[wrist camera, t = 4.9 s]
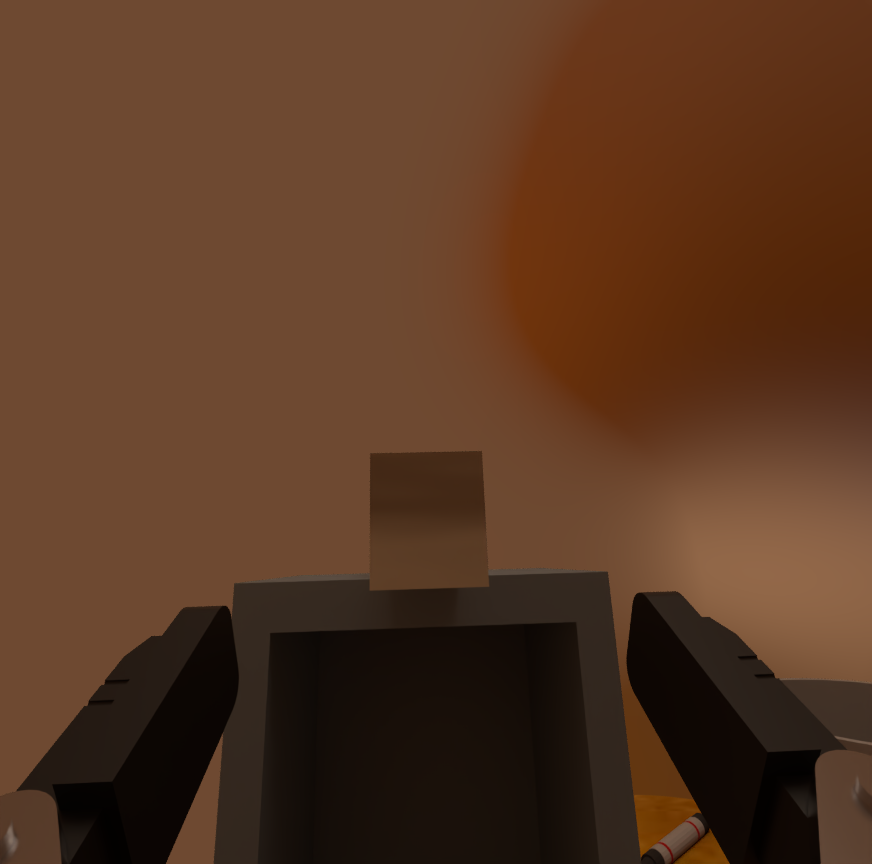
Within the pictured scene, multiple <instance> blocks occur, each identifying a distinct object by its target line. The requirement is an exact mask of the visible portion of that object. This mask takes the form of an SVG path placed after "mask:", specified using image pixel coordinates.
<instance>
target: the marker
mask: <svg viewBox="0 0 872 864" xmlns="http://www.w3.org/2000/svg"><path fill="white" fill-rule="evenodd" d="M709 829H710V827H709V826H708V824H707V822H706V820H705V818H704V817H703V815H702V814H701V813H696V814H694V815H693V816H692V817H690V818H688V819H687V820H686V821H685V822H683V823H682V824H681V825H680V826H678V827H677V828H676V829H674V830H673V831H672V832H671V833H669V834H668V835H667V836H666V837H664V838H663V839H662V840H660V841H659V842H658V843H657V844H655V845H654V846H653V847H652V848H650V849H649V851H647V852H646V853H645V854H644V855H643V856H642V857H641V864H672V863H673V862H674V861H675V860H676V859H677V858H678V857H680V856H681V855H682V854H683V853H684V852H685V851H687V850H688V849H689V848H690V847H691V846H692V845H693V844H695V843H696V842H697V841H698V840H699V839H700V838H701V837H703V836H704V834H705V833H706V832H708V831H709Z"/></svg>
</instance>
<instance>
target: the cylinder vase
mask: <svg viewBox="0 0 872 864" xmlns="http://www.w3.org/2000/svg"><path fill="white" fill-rule="evenodd" d="M780 680H781V681H782V682H783V683H784V684H785V685H786V686H787V687H788V688H789V690H790V691H791V692H792V693H793V694H794V695H795V696H796V697H797V698H798V699H799V700H800V701H801V702H802V703H803V704H804V705H805V706H806V707H807V708H808V709H809V710H810V711H811V712H812V713H813V715H814V716H815V717H816V718H817V719H818V720H819V721H820V722H821V723H822V724H823V725H824V726H825V727H826V728H827V729H828V730H829V731H830V732H831V733H832V734H833V735H834V736H835V737H836V738H837V740H838V741H839V742H840V743H841V744H842V745H843V746H844V747H845V748H846V749H847V750H849V751H855V752H859V753H864V754H867V755H870V756H872V682H862V681H849V680H835V679H811V678H787V679H786V678H785V679H780Z"/></svg>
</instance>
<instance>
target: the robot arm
mask: <svg viewBox="0 0 872 864" xmlns="http://www.w3.org/2000/svg"><path fill="white" fill-rule="evenodd" d="M627 671H628V676H629V680H630V684H631V686H632V689H633V691H634V693H635V695H636V697H637V699H638V700H639V702H640V704H641V706H642V708H643V709H644V711H645V713H646V715H647V717H648V718H649V720H650V722H651V723H652V725H653V727H654V729H655V731H656V733H657V734H658V736H659V738H660V740H661V742H662V743H663V745H664V747H665V749H666V751H667V752H668V754H669V756H670V758H671V759H672V761H673V763H674V765H675V766H676V768H677V770H678V772H679V773H680V776H681V777H682V779H683V781H684V782H685V784H686V786H687V788H688V790H689V792H690V793H691V795H692V797H693V799H694V801H695V802H696V804H697V806H698V808H699V809H700V811H701V813H702V815H703V817H704V818H705V820H706V822H707V824H708V826H709V827H710V829H711V831H712V833H713V834H714V836H715V838H716V840H717V842H718V843H719V845H720V847H721V849H722V851H723V852H724V854H725V856H726V858H727V859H728V861H729V863H730V864H872V756H870V755H867V754H864V753H859V752H855V751H849V750H847V749H846V748H845V747H844V746H843V745H842V744H841V743H840V742H839V741H838V740H837V738H836V737H835V736H834V735H833V734H832V733H831V732H830V731H829V730H828V729H827V728H826V727H825V726H824V725H823V724H822V723H821V722H820V721H819V720H818V719H817V718H816V717H815V716H814V715H813V713H812V712H811V711H810V710H809V709H808V708H807V707H806V706H805V705H804V704H803V703H802V702H801V701H800V700H799V699H798V698H797V697H796V696H795V695H794V694H793V693H792V692H791V691H790V690H789V688H788V687H787V686H786V685H785V684H784V683H783V682H782V681H781V680H780V679H779V678H778V679H776V678H775V676H774V673H773V672H772V671H771V670H770V669H769V668H768V667H767V666H766V665H765V664H764V663H763V662H762V660H758V659H757V655H756V654H755V653H754V652H753V651H752V650H751V649H750V648H749V647H748V646H747V645H746V644H745V643H744V642H743V641H742V640H741V639H740V638H739V636H737V635H736V634H735V633H733V632H732V631H730V630H729V629H727V628H726V627H724V626H722V625H721V624H719V623H718V622H716V621H715V620H713V619H711V618H710V617H701V616H700V615H699V614H698V612H697V611H696V610H695V609H694V608H693V607H692V606H691V605H690V604H689V602H688V601H687V600H686V599H685V598H684V597H683V596H682V595H681V594H680V593H678V592H676V591H674V592H673V591H672V592H644V593H637V594H636V595H635V597H634V600H633V605H632V614H631V623H630V632H629V641H628V649H627ZM238 686H239V669H238V662H237V655H236V648H235V641H234V633H233V626H232V619H231V614H230V611H229V609H228V607H227V606H208V607H207V606H206V607H185V608H183V609H182V610H181V611H180V612H179V614H178V615H177V616H176V618H175V619H174V621H173V622H172V623H171V624H170V626H169V627H168V629H167V630H166V631H165V633H164V634H163V635H162V636H151V637H150V638H149V639H147V640H146V641H145V642H143V643H142V644H141V645H139V646H138V647H136V648H135V649H134V650H132V651H131V652H130V653H128V654H127V655H126V656H124V658H123V659H122V660H121V661H120V662H119V664H118V665H117V666H116V667H115V669H114V670H113V671H112V672H111V674H110V675H109V676H108V677H107V679H106V680H105V684H104V685H101V686H100V687H99V689H98V690H97V691H96V692H95V693H94V695H93V696H92V697H91V699H90V700H89V703H88V706H84V707H83V709H82V710H81V711H80V712H79V713H78V715H77V716H76V717H75V719H74V720H73V721H72V722H71V723H70V725H69V726H68V727H67V729H66V730H65V731H64V732H63V733H62V735H61V736H60V737H59V738H58V740H57V741H56V742H55V743H54V745H53V746H52V747H51V748H50V750H49V751H48V752H47V753H46V755H45V756H44V757H43V758H42V760H41V761H40V762H39V763H38V764H37V766H36V767H35V768H34V769H33V771H32V772H31V773H30V774H29V776H28V777H27V778H26V780H25V781H24V782H23V783H22V785H21V786H20V787H19V788H18V789H17V791H16V792H12V793H8V794H5V795H3V796H0V864H166V862H167V860H168V857H169V855H170V852H171V850H172V848H173V846H174V844H175V841H176V839H177V837H178V834H179V832H180V830H181V828H182V825H183V823H184V820H185V818H186V816H187V814H188V811H189V809H190V807H191V805H192V802H193V800H194V798H195V795H196V793H197V791H198V789H199V786H200V784H201V782H202V779H203V777H204V775H205V773H206V770H207V768H208V765H209V763H210V761H211V759H212V756H213V754H214V752H215V750H216V747H217V745H218V743H219V740H220V738H221V736H222V734H223V731H224V729H225V727H226V724H227V722H228V720H229V717H230V715H231V713H232V711H233V708H234V705H235V702H236V698H237V693H238Z"/></svg>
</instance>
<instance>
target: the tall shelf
mask: <svg viewBox="0 0 872 864" xmlns="http://www.w3.org/2000/svg"><path fill="white" fill-rule="evenodd" d="M488 575H489V587H465V588H434V589H404V590H373V591H370V573H369V574H337V575H305V576H294V577H285V578H276V579H268V580H259V581H251V582H242V583H235V584H234V596H233V609H232V626H233V633H234V641H235V648H236V655H237V662H238V669H239V686H238V693H237V698H236V702H235V705H234V708H233V711H232V713H231V715H230V717H229V720H228V722H227V724H226V727H225V729H224V731H223V745H222V759H221V772H220V786H219V799H218V813H217V814H218V815H217V827H216V841H215V854H214V864H641V857H640V848H639V840H638V831H637V822H636V813H635V805H634V796H633V789H632V779H631V770H630V761H629V752H628V744H627V735H626V726H625V718H624V709H623V700H622V693H621V692H622V691H621V683H620V675H619V666H618V656H617V648H616V639H615V630H614V622H613V614H612V605H611V596H610V587H609V578H608V572H602V571H584V570H565V569H564V570H563V569H546V568H532V569H499V570H488Z"/></svg>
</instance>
